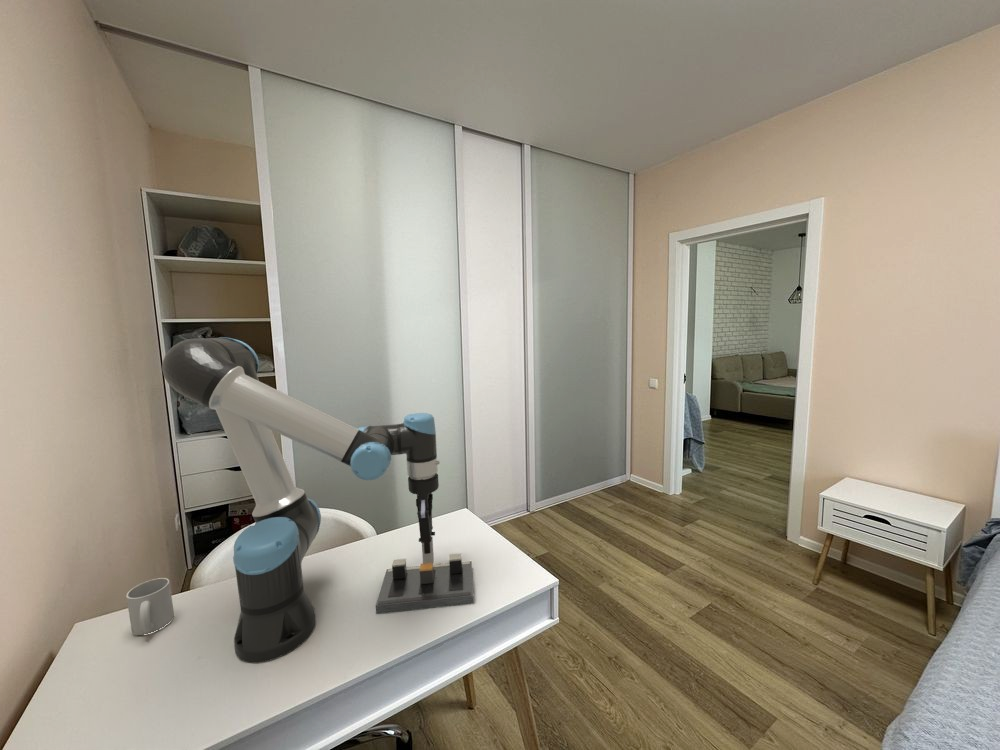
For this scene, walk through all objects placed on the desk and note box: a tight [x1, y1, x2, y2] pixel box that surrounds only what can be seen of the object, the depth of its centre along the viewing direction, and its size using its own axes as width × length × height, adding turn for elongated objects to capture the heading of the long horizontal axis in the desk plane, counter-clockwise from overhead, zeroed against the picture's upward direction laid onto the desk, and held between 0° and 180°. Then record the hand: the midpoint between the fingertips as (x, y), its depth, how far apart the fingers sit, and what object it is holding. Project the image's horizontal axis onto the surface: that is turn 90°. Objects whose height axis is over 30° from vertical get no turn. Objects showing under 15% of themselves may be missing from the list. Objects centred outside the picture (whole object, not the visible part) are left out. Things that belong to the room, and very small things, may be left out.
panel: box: [375, 553, 475, 615], centre depth 98 cm, size 22×14×6 cm, turn 96°
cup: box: [125, 577, 175, 636], centre depth 88 cm, size 7×10×9 cm
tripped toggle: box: [419, 563, 434, 584], centre depth 98 cm, size 3×2×4 cm
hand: (428, 562), depth 104 cm, fingers closed
